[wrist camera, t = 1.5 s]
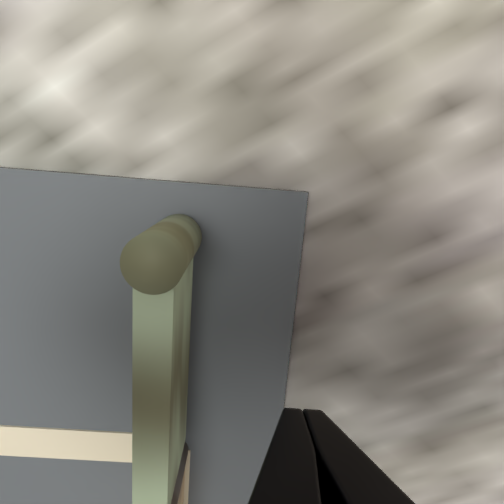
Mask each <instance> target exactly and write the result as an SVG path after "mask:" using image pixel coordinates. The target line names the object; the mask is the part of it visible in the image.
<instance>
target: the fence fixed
mask: <svg viewBox="0 0 504 504" xmlns="http://www.w3.org/2000/svg"><path fill="white" fill-rule="evenodd" d="M187 455H188V445H187V443H186V442H185V443H184V448H183V452H182V457H181V461H180V466H179V470H178V475H177V479H176V484H175V488H174V492H173V497H172V501H171V504H183V502H184V479H185V465H186V460H187Z"/></svg>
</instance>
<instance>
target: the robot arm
mask: <svg viewBox="0 0 504 504" xmlns="http://www.w3.org/2000/svg"><path fill="white" fill-rule="evenodd" d="M248 504H415V503H414V502H413V501H412V500H411V499H410V498H409V497H408V496H407V495H406V494H405V493H404V492H403V491H402V490H401V489H400V488H399V487H398V486H397V485H396V484H395V483H394V482H393V481H392V480H391V479H390V478H389V477H388V476H387V475H386V474H385V473H384V472H383V471H382V470H381V469H380V468H379V467H378V466H377V465H376V464H375V463H374V462H373V461H372V460H371V459H370V458H369V457H368V456H367V455H366V454H365V453H364V452H363V451H362V450H361V449H360V448H359V447H358V446H357V445H356V444H355V443H354V442H353V441H352V440H351V439H350V438H349V437H348V436H347V435H346V434H345V433H344V432H343V431H342V430H341V429H340V428H339V427H338V426H337V425H336V424H335V423H334V422H333V421H332V420H331V419H330V418H329V417H328V416H327V415H326V414H325V413H324V412H322V411H321V410H312V409H304V410H303V411H302V410H301V409H295V408H284V409H283V410H282V413H281V416H280V418H279V421H278V424H277V426H276V429H275V432H274V435H273V437H272V440H271V443H270V445H269V448H268V451H267V453H266V456H265V459H264V461H263V464H262V467H261V470H260V472H259V475H258V478H257V480H256V483H255V486H254V488H253V491H252V494H251V496H250V499H249V502H248Z"/></svg>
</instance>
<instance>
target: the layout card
mask: <svg viewBox="0 0 504 504" xmlns="http://www.w3.org/2000/svg"><path fill="white" fill-rule="evenodd" d="M307 201H308V192H305V191H292V190H280V189H267V188H255V187H242V186H230V185H217V184H205V183H192V182H180V181H167V180H155V179H142V178H130V177H117V176H105V175H92V174H80V173H67V172H55V171H42V170H30V169H17V168H5V167H0V504H132V320H133V288H132V287H131V286H130V285H129V284H128V283H127V282H126V280H125V279H124V277H123V275H122V272H121V269H120V256H121V252H122V250H123V248H124V247H125V245H126V244H127V243H128V242H129V241H130V240H131V239H133V238H134V237H136V236H137V235H139V234H141V233H142V232H144V231H145V230H147V229H148V228H150V227H152V226H153V225H155V224H156V223H158V222H159V221H161V220H163V219H164V218H166V217H167V216H170V215H173V214H184V215H187V216H189V217H191V218H192V219H193V220H195V221H196V223H197V224H198V225H199V227H200V229H201V233H202V241H201V244H200V247H199V249H198V250H197V252H196V254H195V255H194V257H193V279H192V302H191V326H190V349H189V372H188V396H187V419H186V439H185V442H186V443H187V445H188V455H187V460H186V465H185V479H184V502H183V504H248V502H249V499H250V496H251V494H252V491H253V488H254V486H255V483H256V480H257V478H258V475H259V472H260V470H261V467H262V464H263V461H264V459H265V456H266V453H267V451H268V448H269V445H270V443H271V440H272V437H273V435H274V432H275V429H276V426H277V424H278V421H279V418H280V416H281V413H282V410H283V409H284V401H285V392H286V383H287V375H288V366H289V357H290V349H291V340H292V331H293V322H294V314H295V305H296V296H297V288H298V279H299V270H300V262H301V253H302V244H303V236H304V227H305V218H306V209H307Z"/></svg>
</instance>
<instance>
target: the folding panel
mask: <svg viewBox="0 0 504 504" xmlns="http://www.w3.org/2000/svg"><path fill="white" fill-rule="evenodd" d="M201 241H202V233H201V229H200V227H199V225H198V224H197V223H196V221H195V220H193V219H192V218H191V217H189V216H187V215H184V214H173V215H170V216H167V217H166V218H164V219H163V220H161V221H159V222H158V223H156V224H155V225H153V226H152V227H150V228H148V229H147V230H145V231H144V232H142V233H141V234H139V235H137V236H136V237H134V238H133V239H131V240H130V241H129V242H128V243H127V244H126V245H125V247H124V248H123V250H122V252H121V256H120V269H121V272H122V275H123V277H124V279H125V280H126V282H127V283H128V284H129V285H130V286H131V287H132V288H133V320H132V504H171V501H172V497H173V492H174V488H175V484H176V479H177V475H178V470H179V466H180V461H181V457H182V452H183V448H184V443H185V439H186V419H187V396H188V372H189V349H190V326H191V302H192V279H193V257H194V255H195V254H196V252H197V250H198V249H199V247H200V244H201Z"/></svg>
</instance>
